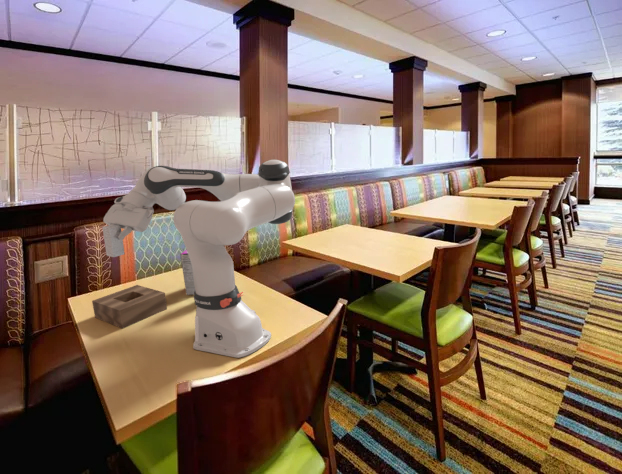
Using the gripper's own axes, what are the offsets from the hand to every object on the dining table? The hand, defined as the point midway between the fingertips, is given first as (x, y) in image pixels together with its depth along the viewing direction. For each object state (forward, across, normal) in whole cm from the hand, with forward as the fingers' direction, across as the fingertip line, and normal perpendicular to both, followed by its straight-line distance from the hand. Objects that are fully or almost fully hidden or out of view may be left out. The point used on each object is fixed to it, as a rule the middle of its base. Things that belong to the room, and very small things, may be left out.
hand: (114, 238), depth 124 cm
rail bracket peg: (+4, 0, -4) cm, 6 cm away
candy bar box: (+2, -13, -33) cm, 35 cm away
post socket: (+19, -9, -15) cm, 26 cm away
